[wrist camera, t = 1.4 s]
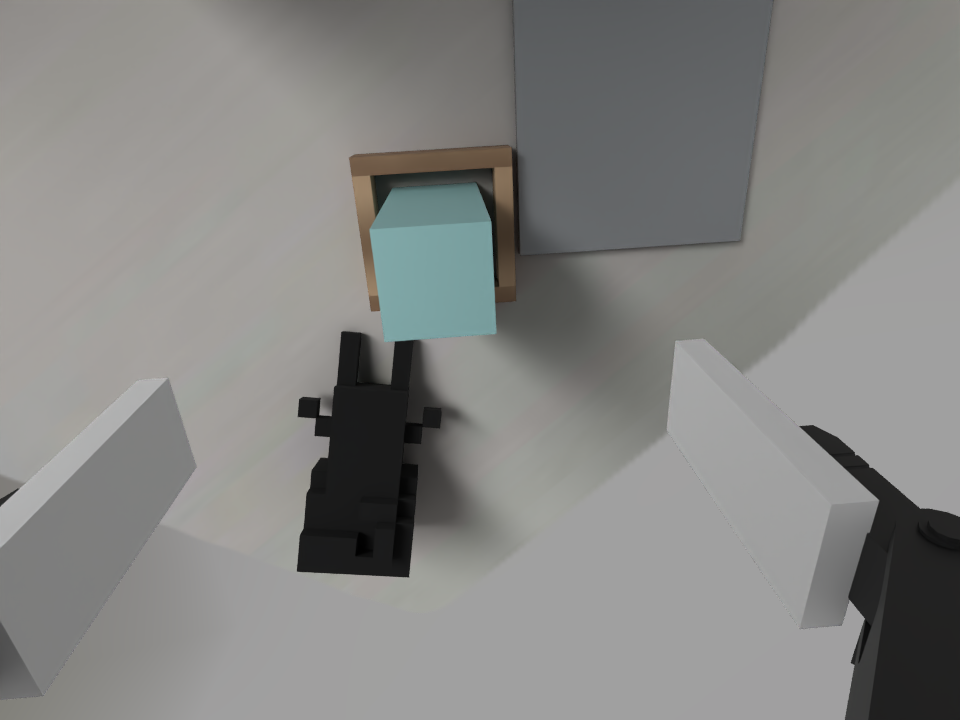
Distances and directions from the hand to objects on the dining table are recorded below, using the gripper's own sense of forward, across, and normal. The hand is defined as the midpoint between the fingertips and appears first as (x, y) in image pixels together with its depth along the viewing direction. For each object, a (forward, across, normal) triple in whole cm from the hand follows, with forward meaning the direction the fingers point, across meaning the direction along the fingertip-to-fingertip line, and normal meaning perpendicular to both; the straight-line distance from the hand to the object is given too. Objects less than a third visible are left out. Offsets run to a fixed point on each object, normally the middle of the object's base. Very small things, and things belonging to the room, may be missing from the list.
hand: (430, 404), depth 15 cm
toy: (+23, -6, -14) cm, 27 cm away
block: (+22, 0, 0) cm, 22 cm away
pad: (+22, +12, +5) cm, 26 cm away
